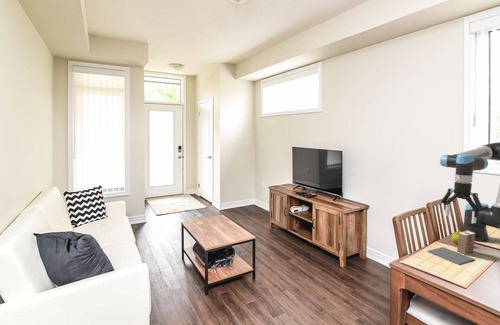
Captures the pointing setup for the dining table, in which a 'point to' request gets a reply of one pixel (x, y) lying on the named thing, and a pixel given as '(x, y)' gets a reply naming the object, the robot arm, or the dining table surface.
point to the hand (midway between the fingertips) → (459, 219)
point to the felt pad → (451, 255)
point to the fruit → (456, 236)
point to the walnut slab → (466, 242)
